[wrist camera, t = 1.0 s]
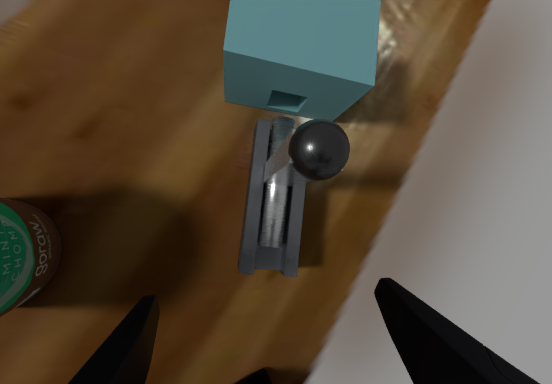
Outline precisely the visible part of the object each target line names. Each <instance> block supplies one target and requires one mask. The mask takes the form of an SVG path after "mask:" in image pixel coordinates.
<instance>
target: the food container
mask: <svg viewBox="0 0 552 384" xmlns="http://www.w3.org/2000/svg"><path fill="white" fill-rule="evenodd" d="M60 257H61V239H60V235H59V232H58V230H57V228H56V226H55V224H54V223H53V222H52V220H51V219H50V218H49V217H48V216H47V215H46V214H45V213H44V212H42V211H41V210H39V209H38V208H36V207H34V206H32V205H30V204H28V203H25V202H21V201H17V200H11V199H5V198H0V317H1V316H2V315H4V314H6V313H7V312H9V311H11V310H12V309H14V308H16V307H18V306H19V305H21V304H23V303H24V302H26V301H28V300H29V299H30V298H32V297H33V296H34V295H35V294H36V293H38V292H39V291H40V290H41V289H43V288H44V287H45V286H46V284H47V283H48V282H49V280H50V279H51V277H52V276H53V275H54V273H55V272H56V270H57V267H58V263H59V260H60Z"/></svg>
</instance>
